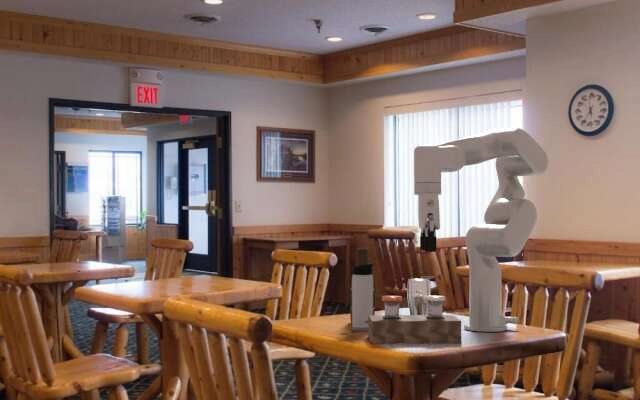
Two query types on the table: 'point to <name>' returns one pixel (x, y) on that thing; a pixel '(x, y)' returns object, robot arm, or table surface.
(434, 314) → the plug cream
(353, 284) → the travel mug
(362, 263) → the beer bottle
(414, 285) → the beer glass
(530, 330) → the table surface
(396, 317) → the plug terracotta
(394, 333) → the socket board
